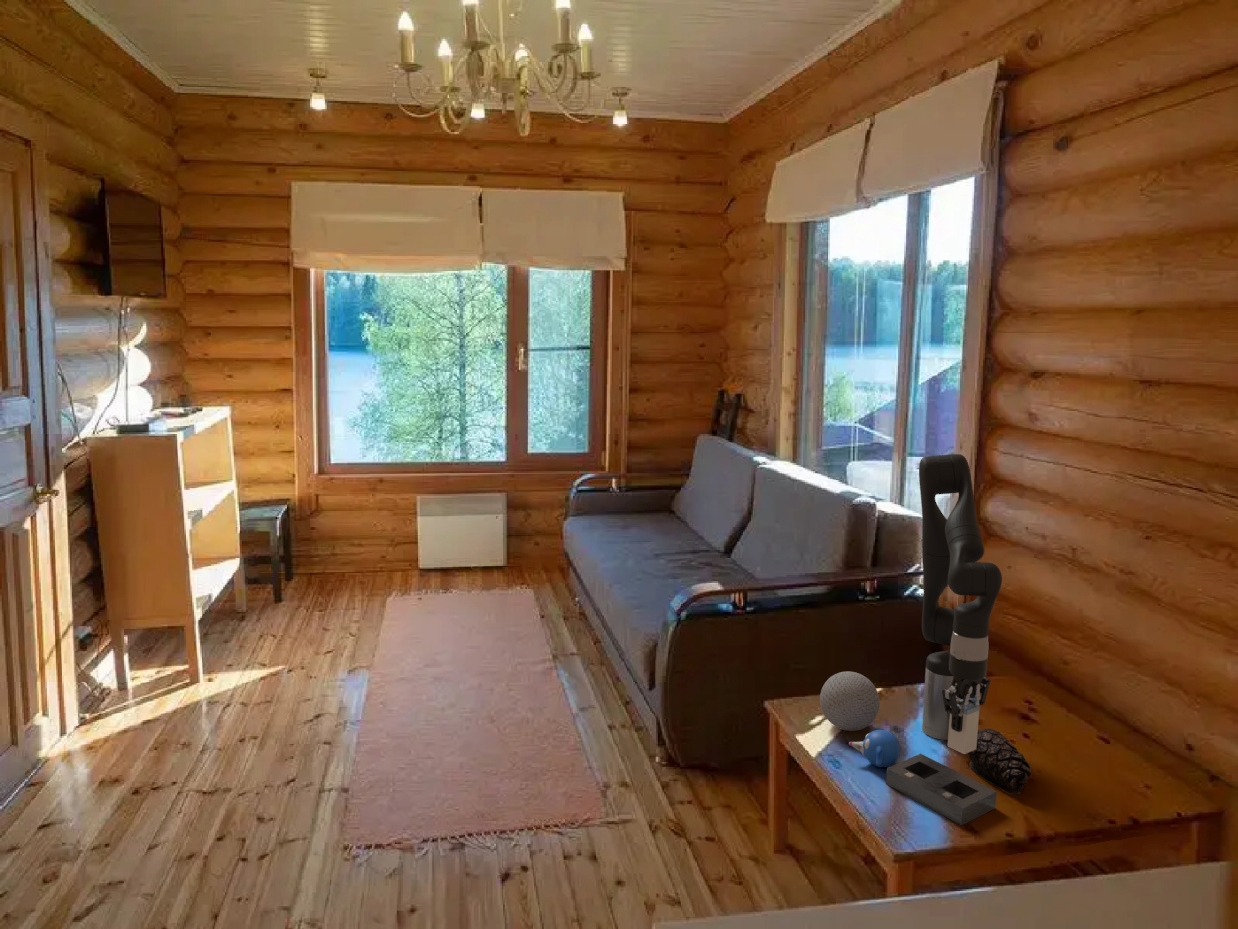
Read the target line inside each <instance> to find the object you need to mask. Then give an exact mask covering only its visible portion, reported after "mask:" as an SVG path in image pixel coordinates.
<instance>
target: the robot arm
mask: <svg viewBox="0 0 1238 929" xmlns="http://www.w3.org/2000/svg"><path fill="white" fill-rule="evenodd" d="M918 480H919V492H920V504H921V505H920V506H921V512H922V513H921V517H922V528H921V530H922V533H921V534H922V535H921V552H922V553H921V557H922V558H921V559H922V574H923V577H922V578H923V594H922V595H923V598H922V601H923V602H922V616H921V631H922V635H923V638H924V639H925V640H926V641H928V642H931V643H934V644H938V645H939V644H940V645H944V646H949V647H950V649H948V650H945V651H936V652H933V653H930V654H929V655H928V656H927V657H926V661H925V675H924V689H923V690H924V692H923V708H922V711H923V712H922V724H921V725H922V726H921V730H922V732H923V733H924V734H925V735H926V736H928V737H931V738H934V739H936V740H937V739H938V740H945V741H948V733H949V719H950V714H952V722H951V728H952V729H953V730H955V731H957V732H961V731H962V723H963V716H962V715H963V712H964V708H965V706H967V705H968V701H969V702H971V703H974V704H975V705H978V706H984V705H985V702H986V698H987V696H988V691H989V688H990V684H991V679H990V678H989V677H986V676H987V674H988V673H987V672H988V671H987V670H988V658H989V646H990V645H989V629H990V619H991V614H992V611H993V608H994V605H995V602H996V601H997V597H998V595H999V593H1000V591H1001V588H1002V581H1003V575H1002V572H1001V570H1000V568H999V567H998V566H997V565H996V564H995V563H993V562H979V561H980V560H981V559H982V558H983V557H984V555H985V547H984V544H983V540H982V537H981V533H980V530H979V526H978V521H977V514H976V505H975V495H974V489H973V488H974V487H973V481H972V474H971V469H970V464H969V461H968V460H967V458H966V457H965V456H964V455H963V454H959V453H953V454H941V455H940V454H938V455H929V456H927V455H926V456H923V457H922V458H921V459H920V462H919V465H918ZM948 494H950V495H952V494H958V497H957V501H956V503H955V505H954V506H953V508H952V510H951V512H950V514H949V515H948V517H947V518H946V517H945V515H944V514H943V512H942V510H941V509H940V507H939V505H938V503H937V501H936V497H937V496H936V495H948ZM947 587H949V589H950V590H951V592H953V594H955V595H959V596H976V598H974V600H973V601H969V602H964V603H959V604H958V605H957V606H956V607H955V608H950V607H943V606H940V604H939V599H940V597H941V595H942V594H943V593H944V591H945V589H946V588H947ZM961 699H962V700H963V701H961ZM957 704H959V705H960V707H959V710H958V708H957ZM950 706H951V707H950Z"/></svg>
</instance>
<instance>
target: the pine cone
mask: <svg viewBox="0 0 1238 929" xmlns="http://www.w3.org/2000/svg"><path fill="white" fill-rule="evenodd" d="M967 755H968V757H969V760H971V761H970V762H969V763H968V764H969V767H970V769H971V770H972V771H973V773H975V774H977V775H978V776H979V777H980V778H982V779H984V781H986V782H988V783H989V784H992V785H993V786H995V787H996V788H997V789H1000V790H1001V791H1003V793H1006V794H1008V795H1011V796H1013V797H1018V796H1017V795H1016V794H1018V795H1019V794H1021V793H1022V792H1023V791H1024V787H1023V786H1025V785H1026V784H1027V781H1028V780H1029V777H1030V776H1031V774H1032V770H1031V768H1032V767H1031V764H1029V762H1028V761H1027V760H1026V758H1025V756H1024V755H1023V753H1021V752H1019V751H1018V749H1017V747H1016V746H1015V745H1014V744H1013V743H1011V742H1010V740H1009V739H1008V738H1007V737H1006V736H1005V735H1003V734H1001V732H1000V731H998V730H995V729H993V728H983V729H981V728H980V729H978V734H977V746H976V749H975V750H973V751H971V752H968V753H967Z"/></svg>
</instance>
